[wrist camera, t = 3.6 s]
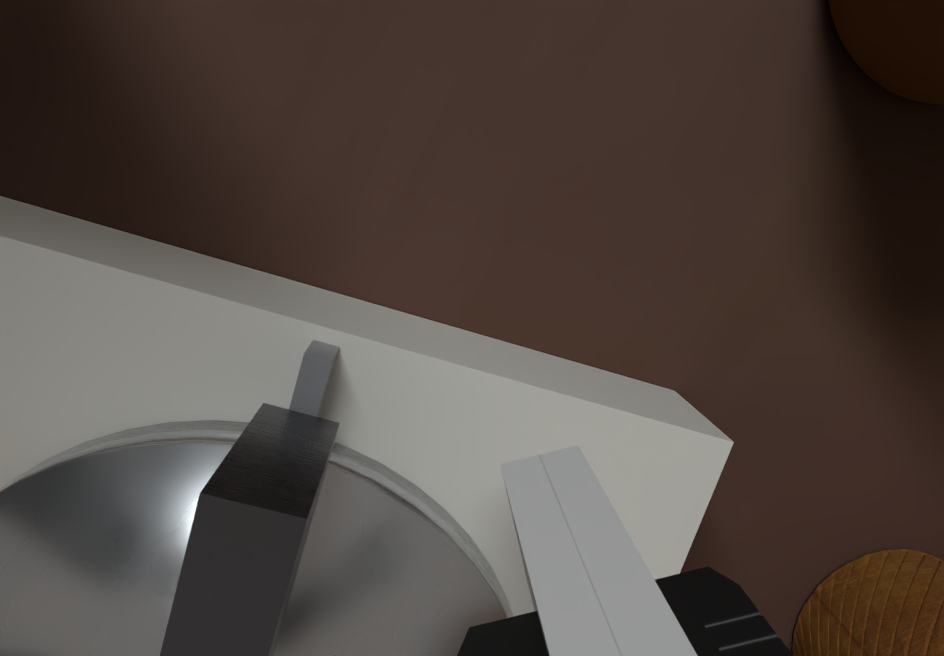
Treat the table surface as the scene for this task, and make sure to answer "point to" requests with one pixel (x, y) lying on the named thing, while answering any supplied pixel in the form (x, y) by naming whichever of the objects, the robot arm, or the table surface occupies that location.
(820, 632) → the disposable coffee cup
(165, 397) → the dial housing
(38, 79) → the table surface
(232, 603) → the dial
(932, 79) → the mug
